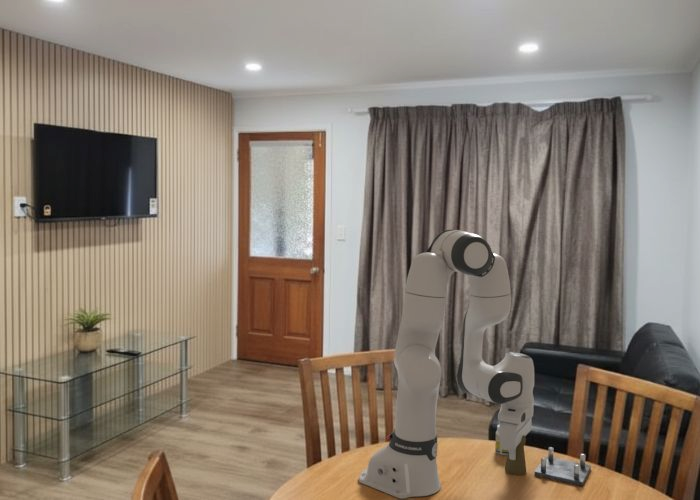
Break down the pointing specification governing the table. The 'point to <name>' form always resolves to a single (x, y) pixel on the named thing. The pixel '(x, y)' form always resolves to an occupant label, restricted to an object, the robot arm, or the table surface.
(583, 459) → the standoff chassis
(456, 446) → the table surface
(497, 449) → the supplement bottle
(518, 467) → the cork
